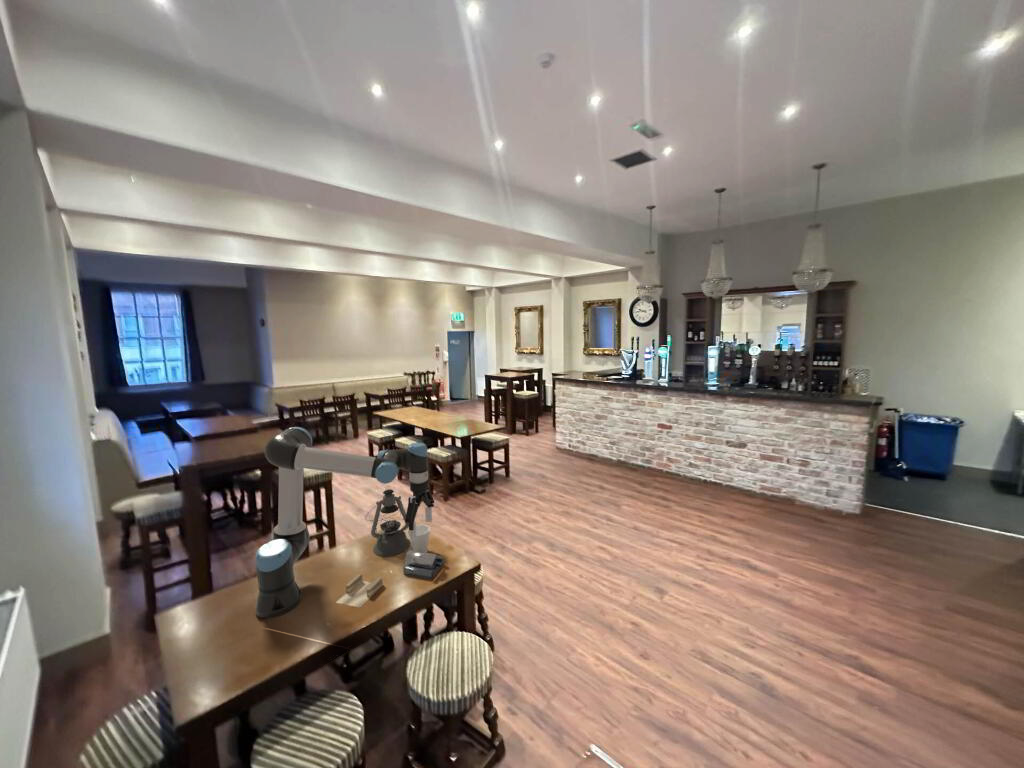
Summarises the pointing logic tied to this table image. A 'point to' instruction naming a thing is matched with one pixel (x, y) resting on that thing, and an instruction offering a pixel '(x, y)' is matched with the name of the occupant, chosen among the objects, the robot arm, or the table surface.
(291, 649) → the table surface
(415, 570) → the v block
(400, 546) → the lantern
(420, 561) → the grey metal cylinder
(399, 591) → the table surface
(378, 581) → the bracket
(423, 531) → the cup
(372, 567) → the table surface
